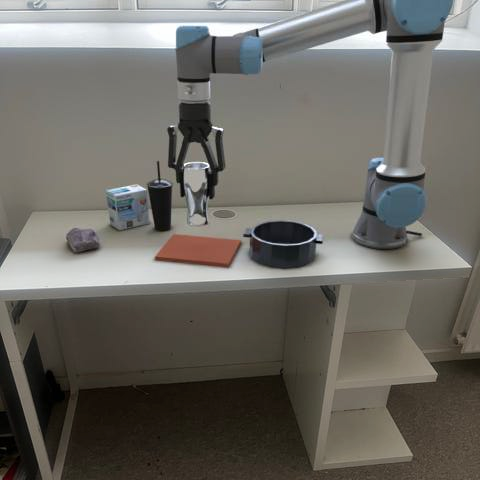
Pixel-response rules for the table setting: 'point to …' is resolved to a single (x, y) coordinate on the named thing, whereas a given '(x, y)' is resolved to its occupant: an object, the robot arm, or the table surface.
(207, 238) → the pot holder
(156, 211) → the drinking cup
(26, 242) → the table surface
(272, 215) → the table surface
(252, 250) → the pot
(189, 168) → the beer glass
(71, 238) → the rock
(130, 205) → the light bulb box
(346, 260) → the table surface
